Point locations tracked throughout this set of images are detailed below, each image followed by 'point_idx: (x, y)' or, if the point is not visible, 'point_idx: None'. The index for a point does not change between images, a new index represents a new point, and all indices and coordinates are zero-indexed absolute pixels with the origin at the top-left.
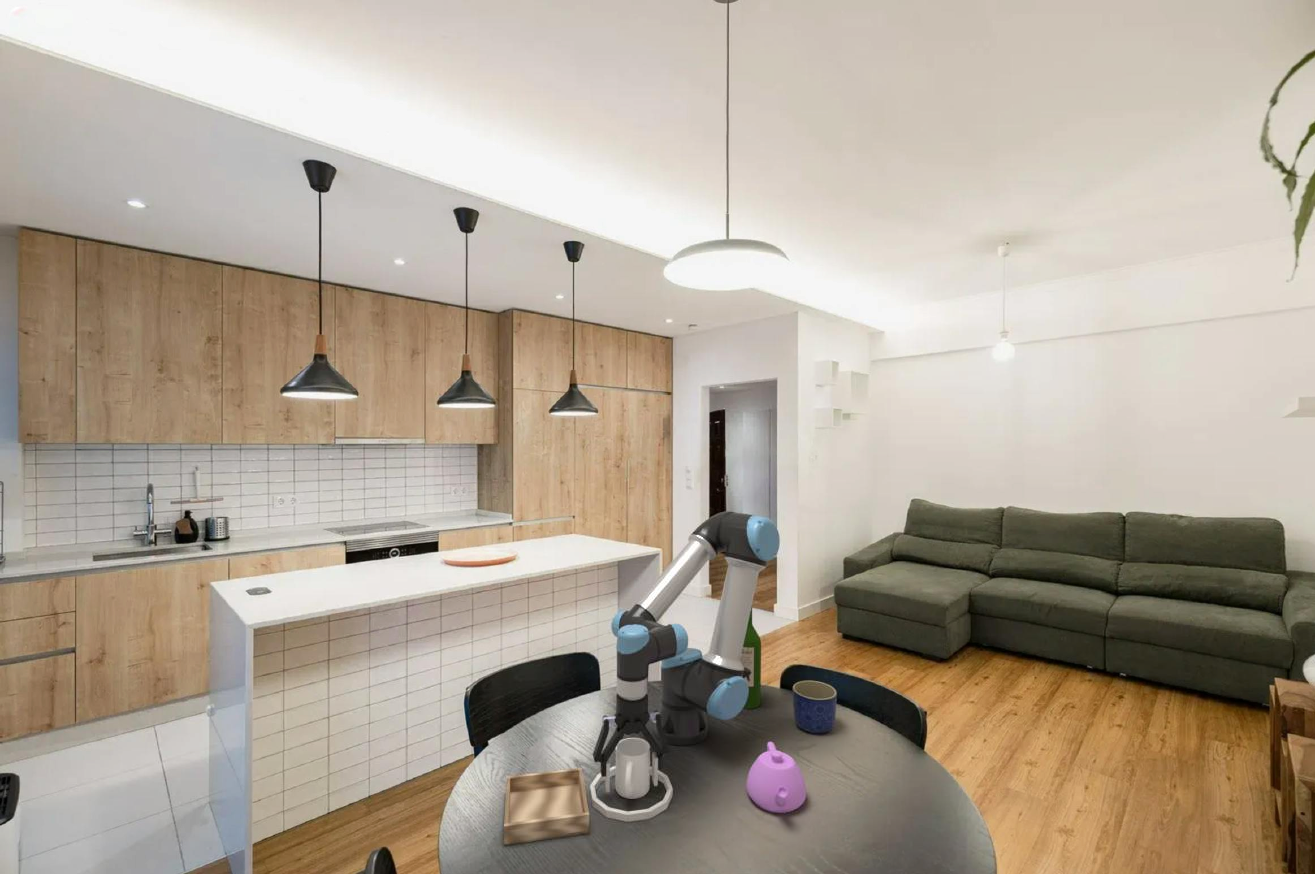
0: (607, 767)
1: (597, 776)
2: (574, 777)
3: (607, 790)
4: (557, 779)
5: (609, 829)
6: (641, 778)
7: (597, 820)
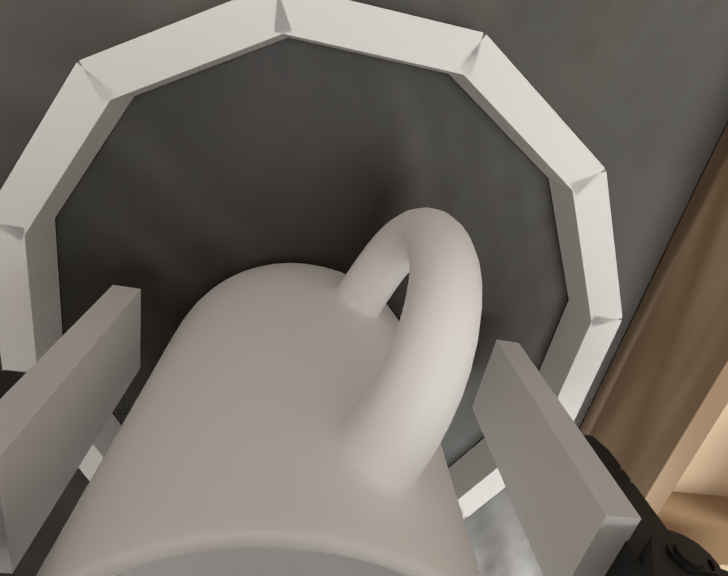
0: (611, 488)
1: (482, 499)
2: None
3: (514, 348)
4: (715, 526)
5: (627, 10)
6: (249, 327)
7: (644, 150)
